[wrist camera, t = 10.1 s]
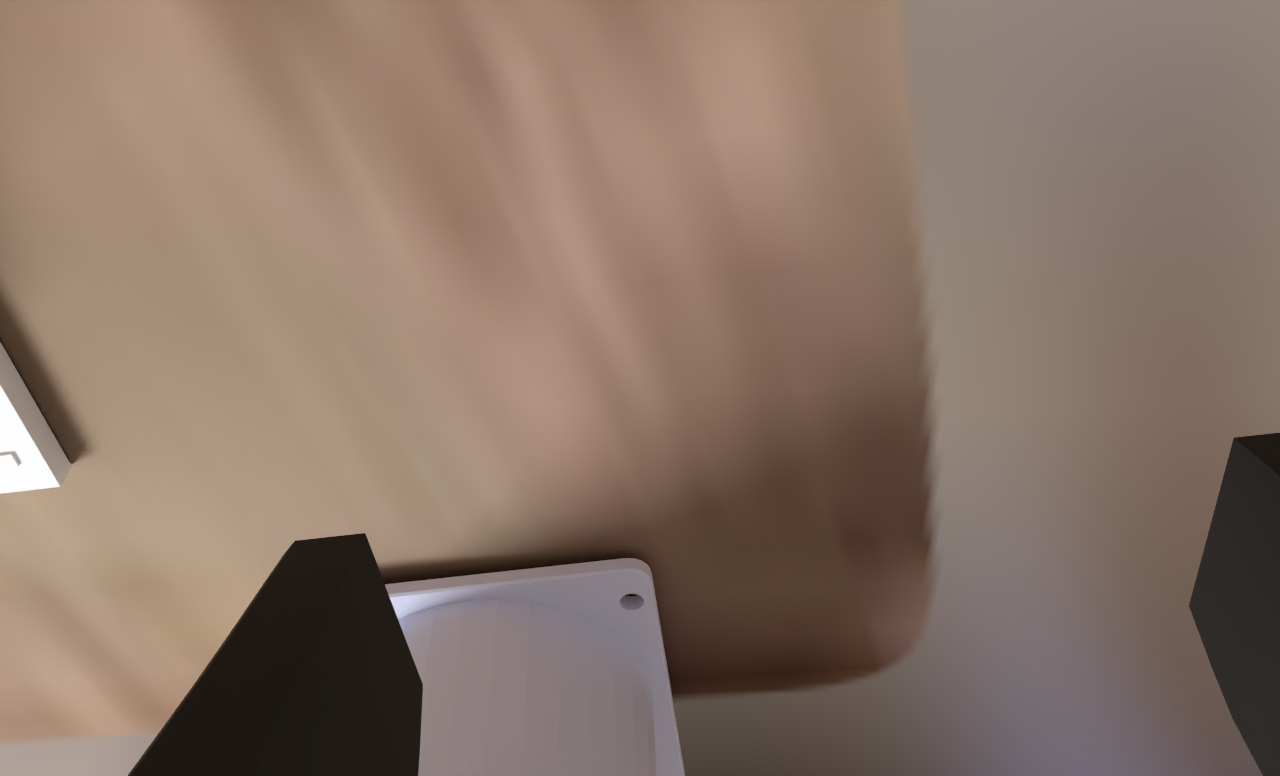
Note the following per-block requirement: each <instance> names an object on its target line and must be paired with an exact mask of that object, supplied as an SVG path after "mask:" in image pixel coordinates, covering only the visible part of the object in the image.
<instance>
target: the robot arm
mask: <svg viewBox="0 0 1280 776" xmlns="http://www.w3.org/2000/svg"><path fill="white" fill-rule="evenodd" d="M627 594H637V595H636V596H625V595H627ZM1189 607H1190V610H1191V612H1192V615H1193V618H1194V620H1195V623H1196V626H1197V629H1198V631H1199V634H1200V636H1201V639H1202V642H1203V644H1204V647H1205V650H1206V653H1207V655H1208V658H1209V661H1210V663H1211V666H1212V669H1213V671H1214V674H1215V676H1216V679H1217V681H1218V683H1219V686H1220V688H1221V691H1222V693H1223V696H1224V698H1225V701H1226V703H1227V705H1228V708H1229V710H1230V713H1231V715H1232V718H1233V720H1234V722H1235V724H1236V726H1237V727H1238V729H1239V731H1240V733H1241V735H1242V737H1243V739H1244V741H1245V742H1246V745H1247V747H1248V748H1249V750H1250V752H1251V754H1252V756H1253V757H1254V759H1255V761H1256V763H1257V765H1258V767H1259V769H1260V771H1261V773H1262V774H1263V776H1280V433H1273V434H1264V435H1255V436H1247V437H1237V438H1234V439H1233V443H1232V447H1231V451H1230V455H1229V458H1228V462H1227V466H1226V469H1225V473H1224V477H1223V481H1222V485H1221V489H1220V492H1219V496H1218V499H1217V503H1216V507H1215V511H1214V515H1213V518H1212V522H1211V526H1210V530H1209V534H1208V537H1207V541H1206V544H1205V548H1204V552H1203V556H1202V559H1201V563H1200V567H1199V571H1198V574H1197V578H1196V582H1195V586H1194V589H1193V593H1192V597H1191V601H1190V604H1189ZM128 776H685V770H684V764H683V758H682V752H681V746H680V740H679V734H678V728H677V722H676V716H675V710H674V704H673V698H672V692H671V686H670V680H669V674H668V668H667V662H666V656H665V650H664V644H663V638H662V632H661V626H660V620H659V614H658V608H657V602H656V596H655V590H654V584H653V578H652V572H651V570H650V567H649V566H648V565H647V564H646V563H645V562H643V561H641V560H638V559H635V558H621V559H612V560H603V561H594V562H585V563H576V564H566V565H557V566H548V567H539V568H530V569H521V570H511V571H502V572H493V573H484V574H475V575H466V576H457V577H447V578H438V579H429V580H420V581H411V582H402V583H392V584H384V581H383V579H382V576H381V574H380V571H379V568H378V566H377V563H376V561H375V558H374V555H373V553H372V550H371V547H370V545H369V542H368V540H367V537H366V534H365V533H363V534H354V535H345V536H336V537H327V538H317V539H308V540H299V541H295V542H294V543H293V544H292V545H291V546H290V548H289V549H288V550H287V551H286V553H285V554H284V555H283V557H282V558H281V560H280V561H279V563H278V564H277V565H276V567H275V568H274V570H273V571H272V573H271V574H270V575H269V577H268V578H267V580H266V581H265V583H264V584H263V586H262V587H261V589H260V590H259V591H258V593H257V594H256V596H255V597H254V599H253V600H252V602H251V603H250V605H249V606H248V608H247V609H246V610H245V612H244V613H243V615H242V616H241V618H240V619H239V621H238V622H237V624H236V625H235V627H234V628H233V629H232V631H231V632H230V634H229V635H228V637H227V638H226V640H225V641H224V643H223V644H222V645H221V647H220V648H219V650H218V651H217V653H216V654H215V655H214V657H213V658H212V660H211V661H210V663H209V664H208V665H207V667H206V668H205V670H204V671H203V673H202V674H201V675H200V677H199V678H198V680H197V681H196V683H195V684H194V685H193V687H192V688H191V690H190V691H189V692H188V694H187V695H186V697H185V698H184V699H183V701H182V702H181V703H180V705H179V706H178V708H177V709H176V710H175V712H174V713H173V714H172V716H171V717H170V719H169V720H168V721H167V723H166V724H165V725H164V727H163V728H162V730H161V731H160V732H159V734H158V735H157V736H156V738H155V739H154V740H153V742H152V743H151V745H150V746H149V747H148V749H147V750H146V751H145V753H144V754H143V756H142V757H141V758H140V760H139V761H138V763H137V764H136V765H135V767H134V768H133V769H132V771H131V772H130V773H129V775H128Z"/></svg>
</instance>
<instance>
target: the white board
mask: <svg viewBox="0 0 1280 776" xmlns="http://www.w3.org/2000/svg"><path fill="white" fill-rule="evenodd" d="M70 468H71V464H70V462H69V461H68V459H67V457H66V455H65V454H64V452H63V450H62V448H61V447H60V445H59V443H58V441H57V440H56V438H55V436H54V434H53V433H52V431H51V429H50V427H49V426H48V424H47V422H46V420H45V419H44V417H43V415H42V414H41V412H40V410H39V408H38V407H37V405H36V403H35V401H34V400H33V398H32V396H31V394H30V393H29V391H28V389H27V387H26V386H25V384H24V382H23V380H22V379H21V377H20V375H19V373H18V372H17V370H16V368H15V366H14V365H13V363H12V361H11V359H10V358H9V356H8V354H7V352H6V351H5V349H4V347H3V345H2V344H1V342H0V493H9V492H17V491H26V490H35V489H44V488H52V487H60V486H61V484H62V482H63V481H64V479H65V477H66V475H67V473H68V472H69V470H70Z"/></svg>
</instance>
